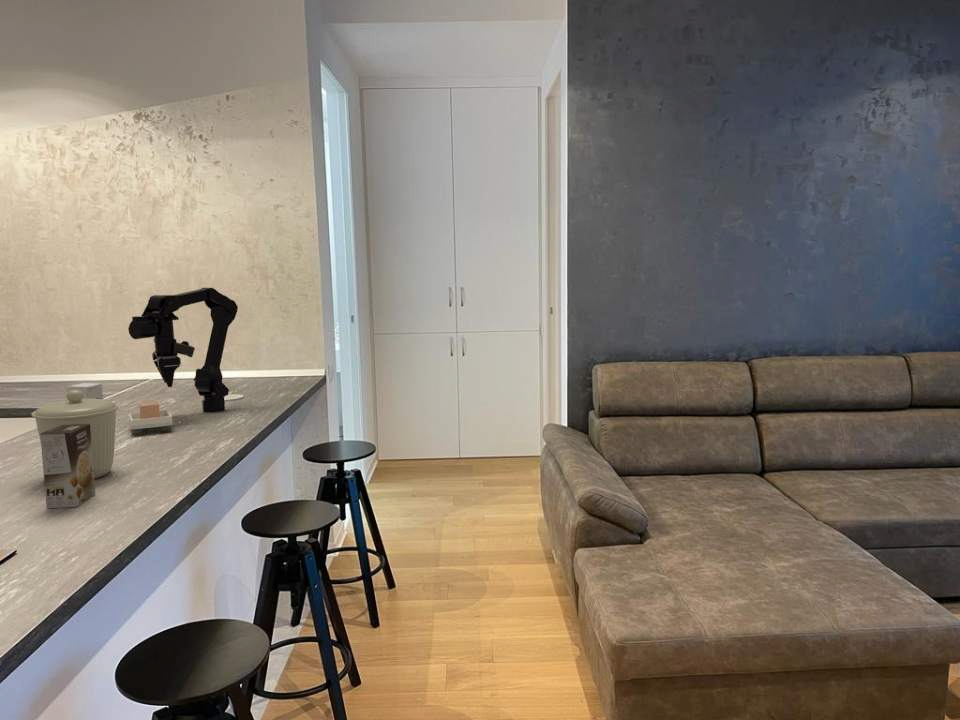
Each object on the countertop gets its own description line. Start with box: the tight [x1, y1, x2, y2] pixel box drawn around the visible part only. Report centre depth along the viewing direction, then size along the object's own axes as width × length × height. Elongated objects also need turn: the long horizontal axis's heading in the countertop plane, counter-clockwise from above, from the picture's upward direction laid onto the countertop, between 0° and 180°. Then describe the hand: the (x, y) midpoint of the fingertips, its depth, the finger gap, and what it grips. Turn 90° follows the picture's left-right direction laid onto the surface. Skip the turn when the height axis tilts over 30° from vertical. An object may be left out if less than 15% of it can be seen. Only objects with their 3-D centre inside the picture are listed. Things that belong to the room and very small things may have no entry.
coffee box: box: [40, 424, 96, 509], centre depth 155 cm, size 9×6×16 cm
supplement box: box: [66, 382, 104, 399], centre depth 232 cm, size 7×7×13 cm
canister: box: [31, 390, 119, 480], centre depth 173 cm, size 18×18×21 cm
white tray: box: [128, 409, 174, 437], centre depth 216 cm, size 11×11×5 cm
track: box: [130, 422, 209, 437], centre depth 219 cm, size 21×12×1 cm, turn 119°
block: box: [138, 401, 161, 419], centre depth 216 cm, size 5×5×5 cm
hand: (168, 384), depth 229 cm, fingers open, 9 cm apart
